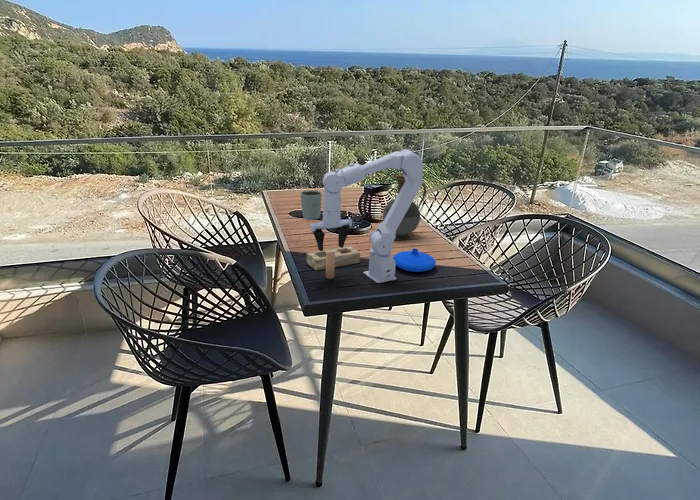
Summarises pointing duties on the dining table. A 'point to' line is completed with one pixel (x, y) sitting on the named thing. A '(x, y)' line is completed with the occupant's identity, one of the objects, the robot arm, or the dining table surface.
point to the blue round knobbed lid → (414, 261)
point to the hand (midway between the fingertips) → (330, 248)
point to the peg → (330, 264)
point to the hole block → (341, 257)
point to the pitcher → (412, 214)
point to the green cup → (311, 204)
